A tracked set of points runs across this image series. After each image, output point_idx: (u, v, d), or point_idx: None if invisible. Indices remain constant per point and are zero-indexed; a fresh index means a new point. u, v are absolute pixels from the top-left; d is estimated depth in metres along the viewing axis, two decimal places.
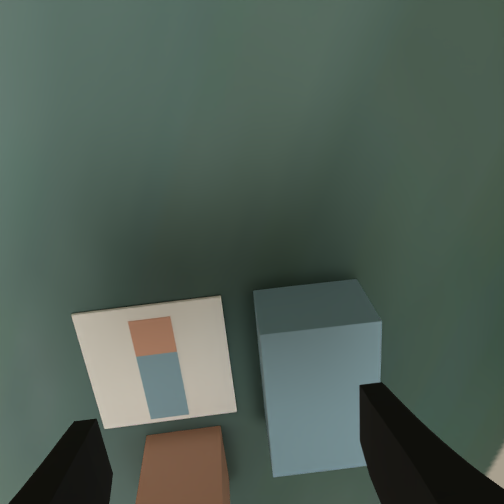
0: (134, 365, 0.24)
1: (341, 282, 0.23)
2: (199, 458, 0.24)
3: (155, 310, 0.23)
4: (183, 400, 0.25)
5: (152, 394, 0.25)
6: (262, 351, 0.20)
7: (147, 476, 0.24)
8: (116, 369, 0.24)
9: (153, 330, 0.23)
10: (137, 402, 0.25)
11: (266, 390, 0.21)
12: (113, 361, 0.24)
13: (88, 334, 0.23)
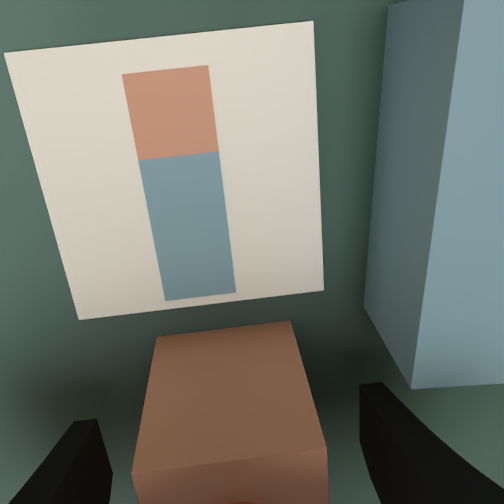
0: (135, 182, 0.12)
1: None
2: (260, 367, 0.12)
3: (178, 48, 0.11)
4: (227, 262, 0.13)
5: (169, 247, 0.13)
6: (459, 44, 0.08)
7: (160, 397, 0.12)
8: (100, 190, 0.12)
9: (174, 100, 0.11)
10: (140, 265, 0.13)
11: (445, 163, 0.09)
12: (93, 171, 0.12)
13: (41, 103, 0.11)
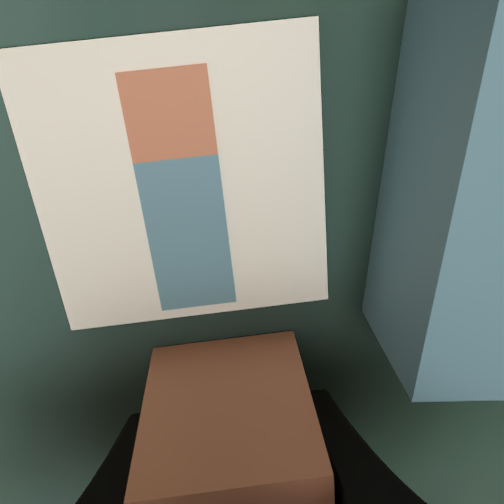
0: (129, 187, 0.12)
1: None
2: (261, 383, 0.12)
3: (175, 45, 0.10)
4: (226, 270, 0.13)
5: (166, 254, 0.12)
6: (493, 32, 0.07)
7: (155, 416, 0.11)
8: (92, 195, 0.12)
9: (170, 100, 0.11)
10: (135, 273, 0.12)
11: (467, 161, 0.08)
12: (85, 174, 0.11)
13: (29, 103, 0.11)
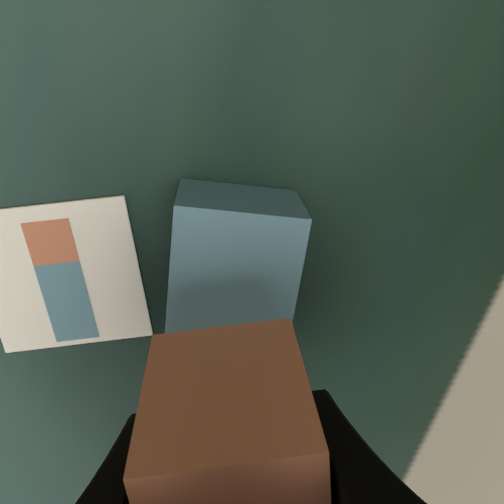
0: (33, 277, 0.22)
1: (278, 189, 0.21)
2: (259, 368, 0.12)
3: (51, 210, 0.20)
4: (91, 320, 0.23)
5: (56, 311, 0.22)
6: (173, 227, 0.17)
7: (154, 398, 0.11)
8: (13, 282, 0.22)
9: (51, 235, 0.21)
10: (40, 321, 0.22)
11: (170, 277, 0.18)
12: (8, 271, 0.21)
13: None
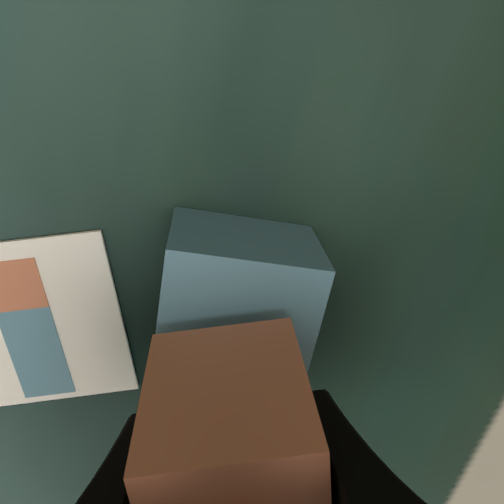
0: None
1: (291, 225, 0.17)
2: (259, 367, 0.12)
3: (13, 248, 0.17)
4: (65, 373, 0.19)
5: (23, 364, 0.19)
6: (163, 275, 0.14)
7: (155, 398, 0.11)
8: None
9: (14, 278, 0.17)
10: (5, 375, 0.19)
11: None
12: None
13: None
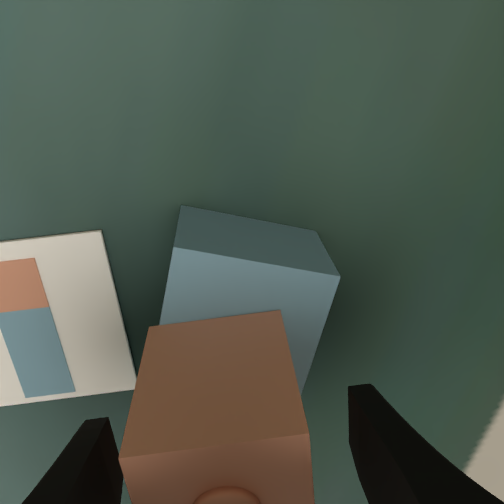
0: None
1: (295, 228, 0.18)
2: (248, 356, 0.13)
3: (13, 248, 0.17)
4: (65, 373, 0.19)
5: (23, 364, 0.19)
6: (170, 272, 0.14)
7: (149, 385, 0.12)
8: None
9: (14, 278, 0.17)
10: (5, 375, 0.19)
11: None
12: None
13: None
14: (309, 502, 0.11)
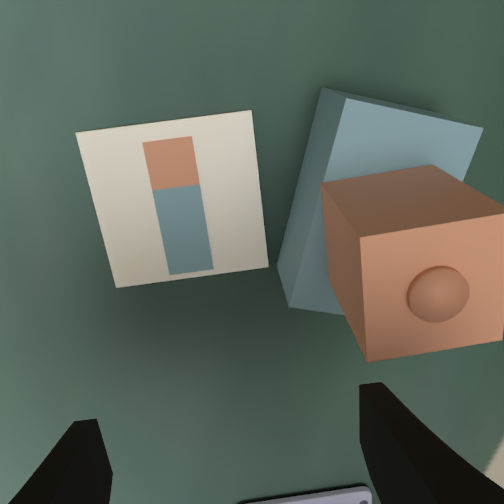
0: (150, 203, 0.20)
1: (420, 109, 0.20)
2: (425, 186, 0.15)
3: (174, 127, 0.19)
4: (207, 250, 0.21)
5: (171, 241, 0.21)
6: (340, 123, 0.16)
7: (351, 206, 0.14)
8: (129, 208, 0.20)
9: (172, 156, 0.20)
10: (153, 253, 0.21)
11: (325, 181, 0.17)
12: (125, 197, 0.20)
13: (96, 159, 0.20)
14: (503, 282, 0.13)
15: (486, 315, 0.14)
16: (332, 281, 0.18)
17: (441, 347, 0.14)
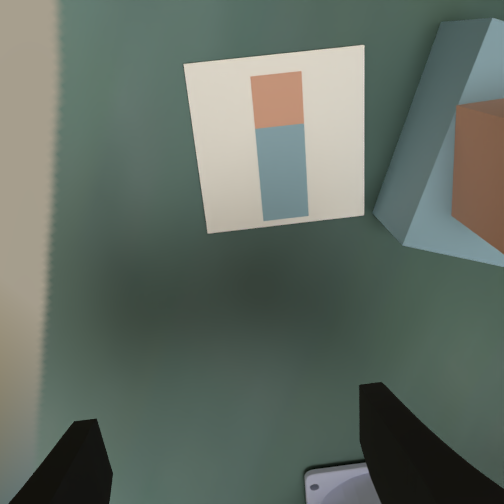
0: (251, 142, 0.20)
1: None
2: None
3: (284, 61, 0.19)
4: (304, 195, 0.21)
5: (269, 184, 0.21)
6: (482, 45, 0.16)
7: None
8: (230, 147, 0.20)
9: (279, 92, 0.19)
10: (249, 196, 0.21)
11: None
12: (227, 135, 0.20)
13: (201, 93, 0.19)
14: None
15: None
16: (460, 211, 0.17)
17: None
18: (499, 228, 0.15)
